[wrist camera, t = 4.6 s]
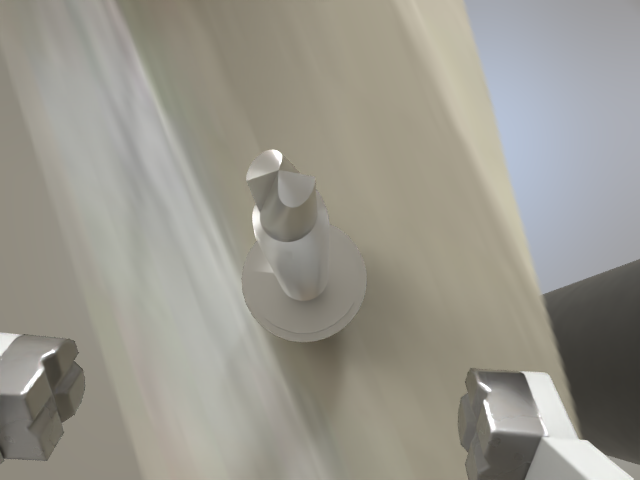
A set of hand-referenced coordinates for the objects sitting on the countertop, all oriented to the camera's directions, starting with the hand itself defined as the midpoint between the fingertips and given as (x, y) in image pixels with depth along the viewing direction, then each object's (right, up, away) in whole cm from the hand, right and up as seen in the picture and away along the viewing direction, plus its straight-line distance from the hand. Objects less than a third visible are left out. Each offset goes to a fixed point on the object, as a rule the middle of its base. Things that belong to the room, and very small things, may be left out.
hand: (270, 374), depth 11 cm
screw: (0, +1, +11) cm, 11 cm away
